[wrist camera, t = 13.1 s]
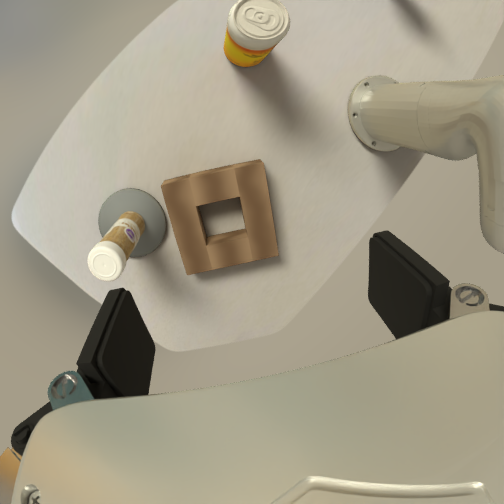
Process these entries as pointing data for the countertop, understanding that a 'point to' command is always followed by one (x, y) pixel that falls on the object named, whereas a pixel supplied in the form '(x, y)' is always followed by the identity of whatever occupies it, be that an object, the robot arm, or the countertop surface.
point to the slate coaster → (145, 208)
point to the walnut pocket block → (212, 190)
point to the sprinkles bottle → (116, 247)
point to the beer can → (254, 30)
